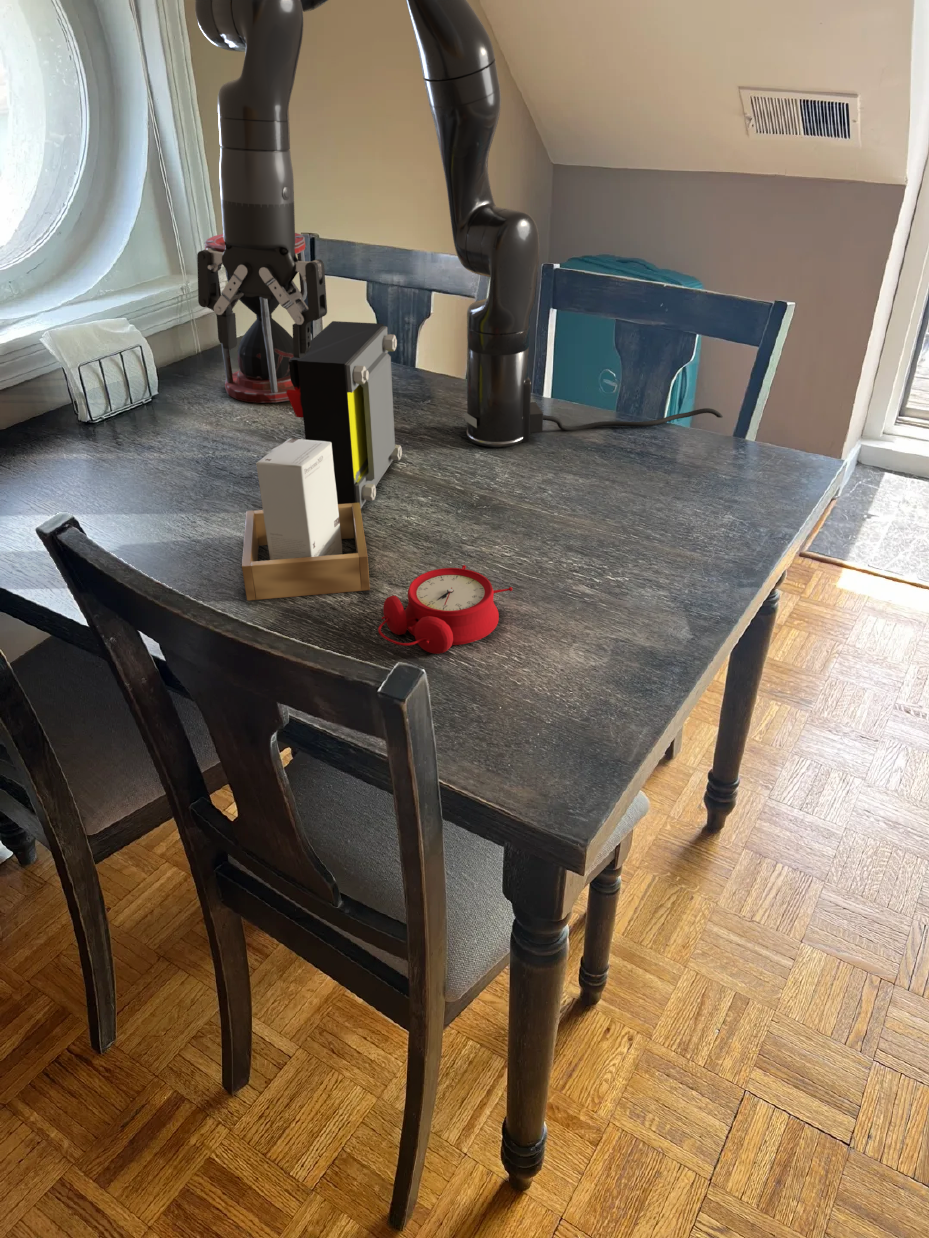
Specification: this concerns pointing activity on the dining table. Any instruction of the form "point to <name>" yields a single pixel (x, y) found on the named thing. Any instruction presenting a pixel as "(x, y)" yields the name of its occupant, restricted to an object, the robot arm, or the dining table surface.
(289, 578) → the wooden frame
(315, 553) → the cosmetic box
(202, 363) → the dining table surface
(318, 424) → the electrical component
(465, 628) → the alarm clock
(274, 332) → the hourglass
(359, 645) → the dining table surface
